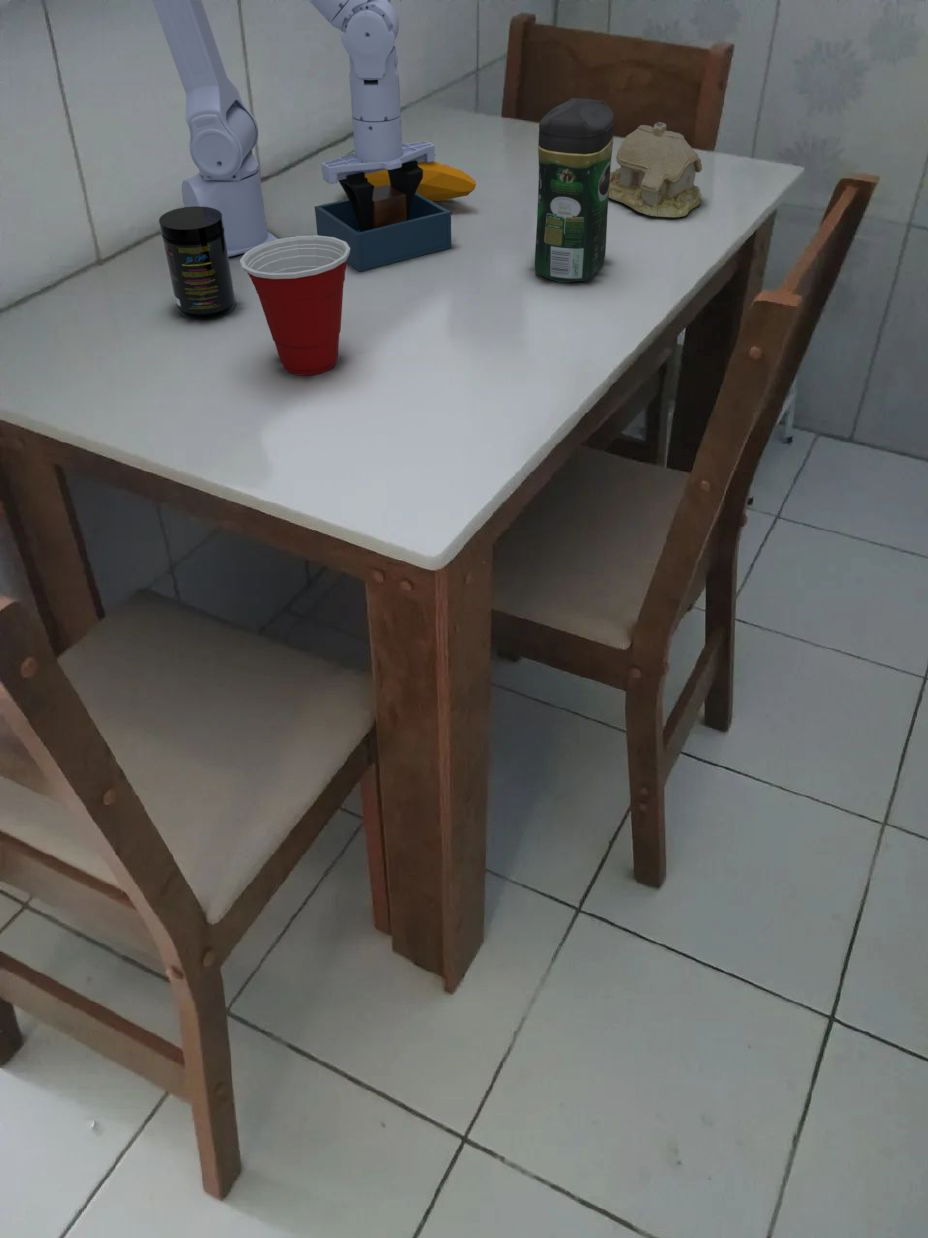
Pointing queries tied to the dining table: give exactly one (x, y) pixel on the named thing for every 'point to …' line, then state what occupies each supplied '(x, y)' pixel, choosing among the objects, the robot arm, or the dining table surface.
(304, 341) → the plastic cup
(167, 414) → the dining table surface
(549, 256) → the coffee jar
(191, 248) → the supplement container
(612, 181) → the ceramic model
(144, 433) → the dining table surface
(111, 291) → the dining table surface
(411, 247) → the bin
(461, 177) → the corn
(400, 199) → the block
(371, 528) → the dining table surface
